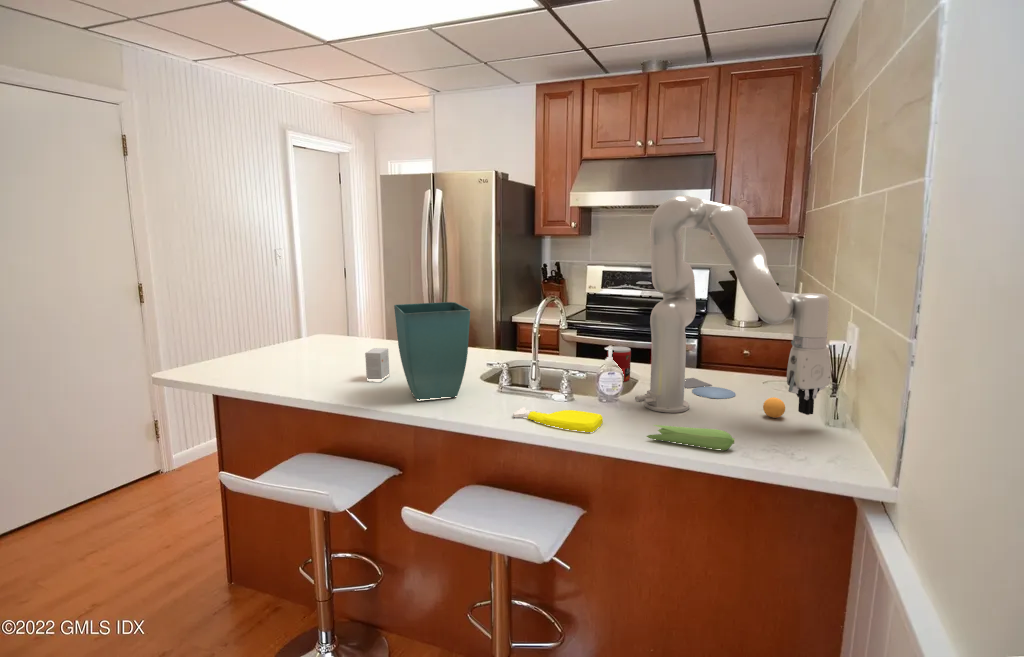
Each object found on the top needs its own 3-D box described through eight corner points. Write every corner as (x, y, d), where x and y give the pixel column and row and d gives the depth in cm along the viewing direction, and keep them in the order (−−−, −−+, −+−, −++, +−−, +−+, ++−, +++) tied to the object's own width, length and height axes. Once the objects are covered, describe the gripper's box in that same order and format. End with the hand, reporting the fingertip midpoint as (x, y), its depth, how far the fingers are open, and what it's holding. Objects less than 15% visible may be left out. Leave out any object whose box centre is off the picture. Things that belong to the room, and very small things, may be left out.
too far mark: (686, 388, 180) (686, 388, 180) (668, 380, 189) (668, 380, 189) (712, 385, 183) (712, 385, 183) (693, 378, 192) (693, 377, 192)
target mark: (709, 400, 167) (709, 400, 167) (683, 389, 179) (683, 388, 179) (744, 396, 171) (744, 395, 171) (717, 385, 183) (717, 385, 183)
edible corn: (733, 438, 125) (735, 426, 129) (644, 428, 134) (648, 417, 138) (733, 456, 127) (734, 444, 131) (646, 445, 136) (649, 435, 140)
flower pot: (473, 400, 169) (471, 309, 164) (407, 408, 163) (403, 312, 158) (456, 384, 188) (454, 301, 183) (397, 390, 181) (393, 304, 176)
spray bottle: (591, 436, 140) (506, 423, 151) (605, 423, 149) (524, 412, 161) (591, 425, 139) (506, 413, 151) (605, 413, 149) (524, 402, 160)
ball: (772, 421, 148) (774, 401, 147) (757, 415, 153) (759, 396, 152) (789, 419, 150) (790, 399, 149) (773, 413, 155) (775, 394, 154)
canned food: (630, 382, 188) (630, 351, 186) (606, 381, 189) (606, 350, 187) (629, 377, 195) (630, 346, 193) (606, 376, 197) (607, 345, 195)
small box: (375, 376, 199) (373, 347, 197) (390, 376, 198) (388, 348, 197) (366, 382, 191) (364, 352, 190) (381, 382, 191) (380, 352, 189)
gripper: (797, 348, 133) (794, 421, 136) (845, 342, 137) (840, 413, 140) (774, 342, 140) (771, 412, 143) (820, 337, 145) (816, 405, 147)
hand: (805, 413), depth 142 cm, fingers closed
